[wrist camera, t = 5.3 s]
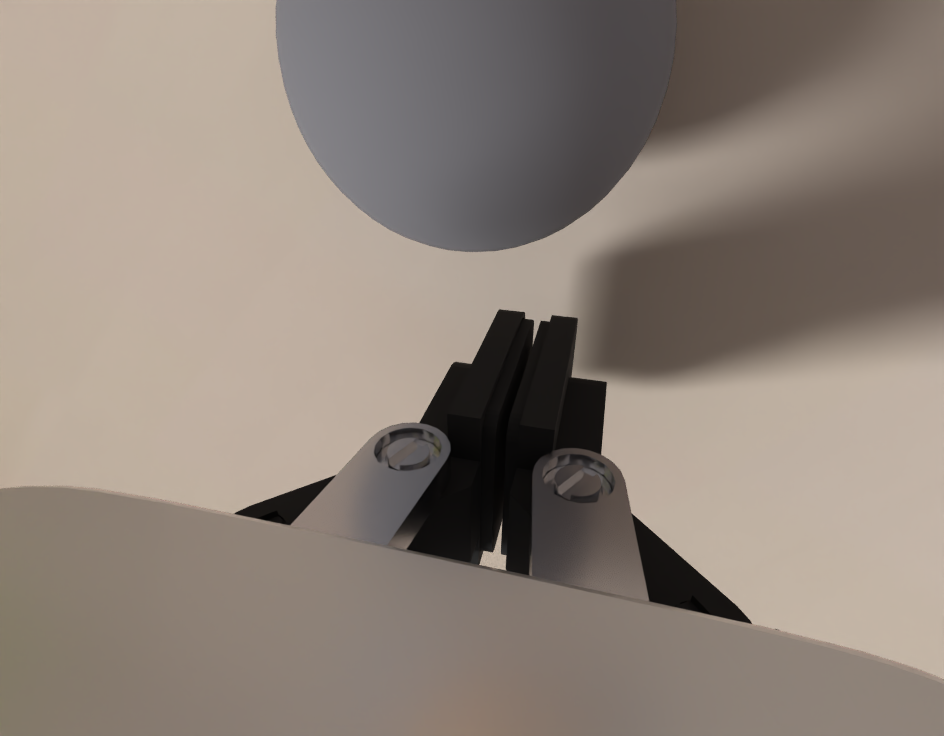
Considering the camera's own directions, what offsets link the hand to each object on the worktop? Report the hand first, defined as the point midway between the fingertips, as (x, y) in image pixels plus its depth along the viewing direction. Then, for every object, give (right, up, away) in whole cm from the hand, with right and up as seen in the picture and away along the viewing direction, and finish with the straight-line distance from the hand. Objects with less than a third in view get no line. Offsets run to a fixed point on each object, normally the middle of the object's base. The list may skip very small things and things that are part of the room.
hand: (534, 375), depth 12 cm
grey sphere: (-1, +5, -4) cm, 6 cm away
